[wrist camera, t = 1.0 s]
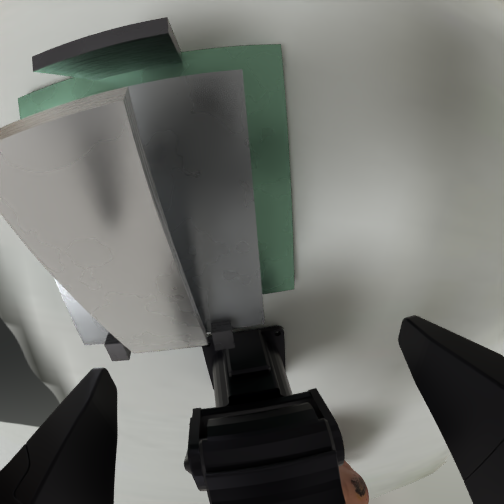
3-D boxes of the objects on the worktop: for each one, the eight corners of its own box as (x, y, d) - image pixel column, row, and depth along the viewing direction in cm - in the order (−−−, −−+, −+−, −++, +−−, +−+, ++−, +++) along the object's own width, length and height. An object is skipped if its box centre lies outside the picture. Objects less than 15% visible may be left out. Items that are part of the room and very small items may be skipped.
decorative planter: (369, 447, 40) (399, 518, 27) (305, 480, 42) (325, 548, 30) (304, 411, 31) (341, 522, 19) (221, 453, 33) (236, 552, 21)
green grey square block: (290, 281, 23) (330, 365, 16) (82, 310, 22) (48, 394, 14) (276, 47, 16) (331, 11, 8) (25, 97, 14) (-61, 108, 7)
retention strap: (207, 335, 16) (208, 346, 16) (134, 344, 16) (135, 354, 15) (127, 86, 5) (123, 100, 5) (-27, 140, 5) (-38, 157, 4)
